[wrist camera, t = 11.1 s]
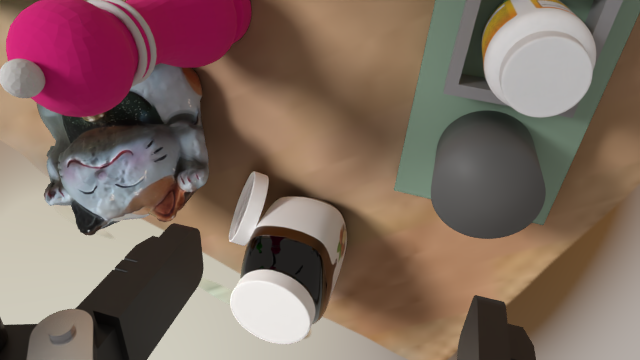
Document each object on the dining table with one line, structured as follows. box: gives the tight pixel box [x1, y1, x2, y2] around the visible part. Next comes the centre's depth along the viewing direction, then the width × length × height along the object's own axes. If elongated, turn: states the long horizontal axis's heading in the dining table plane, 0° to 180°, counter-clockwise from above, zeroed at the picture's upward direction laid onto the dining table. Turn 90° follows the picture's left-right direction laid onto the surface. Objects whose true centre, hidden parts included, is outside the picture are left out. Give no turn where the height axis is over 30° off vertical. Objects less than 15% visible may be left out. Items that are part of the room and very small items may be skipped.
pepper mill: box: [0, 0, 251, 117], centre depth 28 cm, size 7×7×20 cm
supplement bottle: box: [481, 0, 596, 118], centre depth 26 cm, size 5×5×10 cm
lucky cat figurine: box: [37, 63, 209, 235], centre depth 39 cm, size 15×12×14 cm
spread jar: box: [229, 171, 347, 344], centre depth 41 cm, size 12×11×12 cm
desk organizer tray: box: [394, 0, 640, 239], centre depth 30 cm, size 20×12×8 cm, turn 175°
